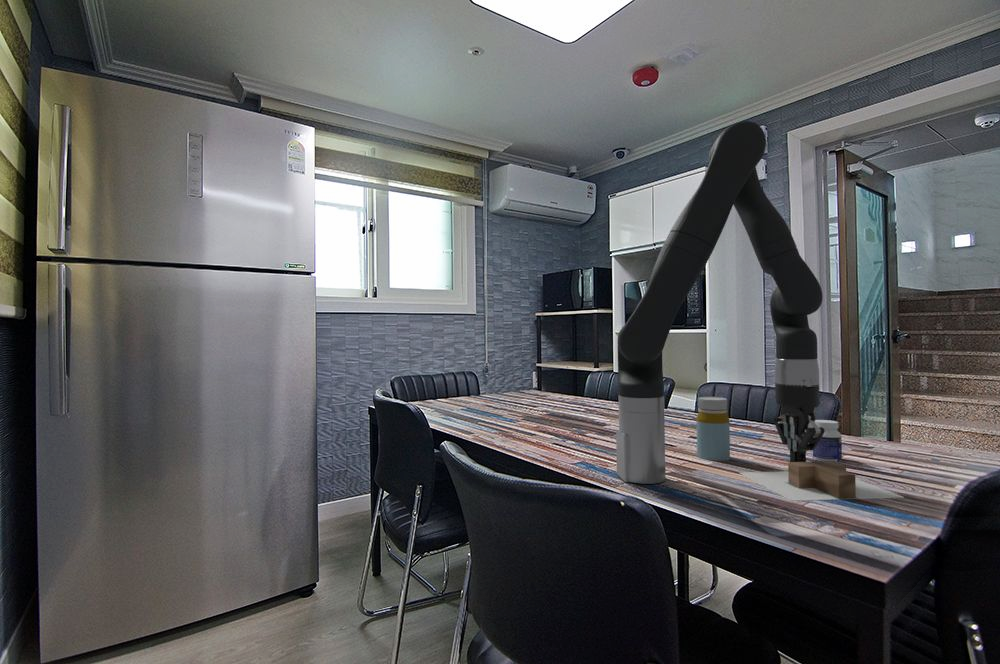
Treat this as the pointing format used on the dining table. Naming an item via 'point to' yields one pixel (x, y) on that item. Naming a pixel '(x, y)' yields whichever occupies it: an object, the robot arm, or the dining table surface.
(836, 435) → the pill bottle
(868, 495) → the mat
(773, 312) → the robot arm
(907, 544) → the dining table surface
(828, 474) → the tee block
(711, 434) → the bottle
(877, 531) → the dining table surface
